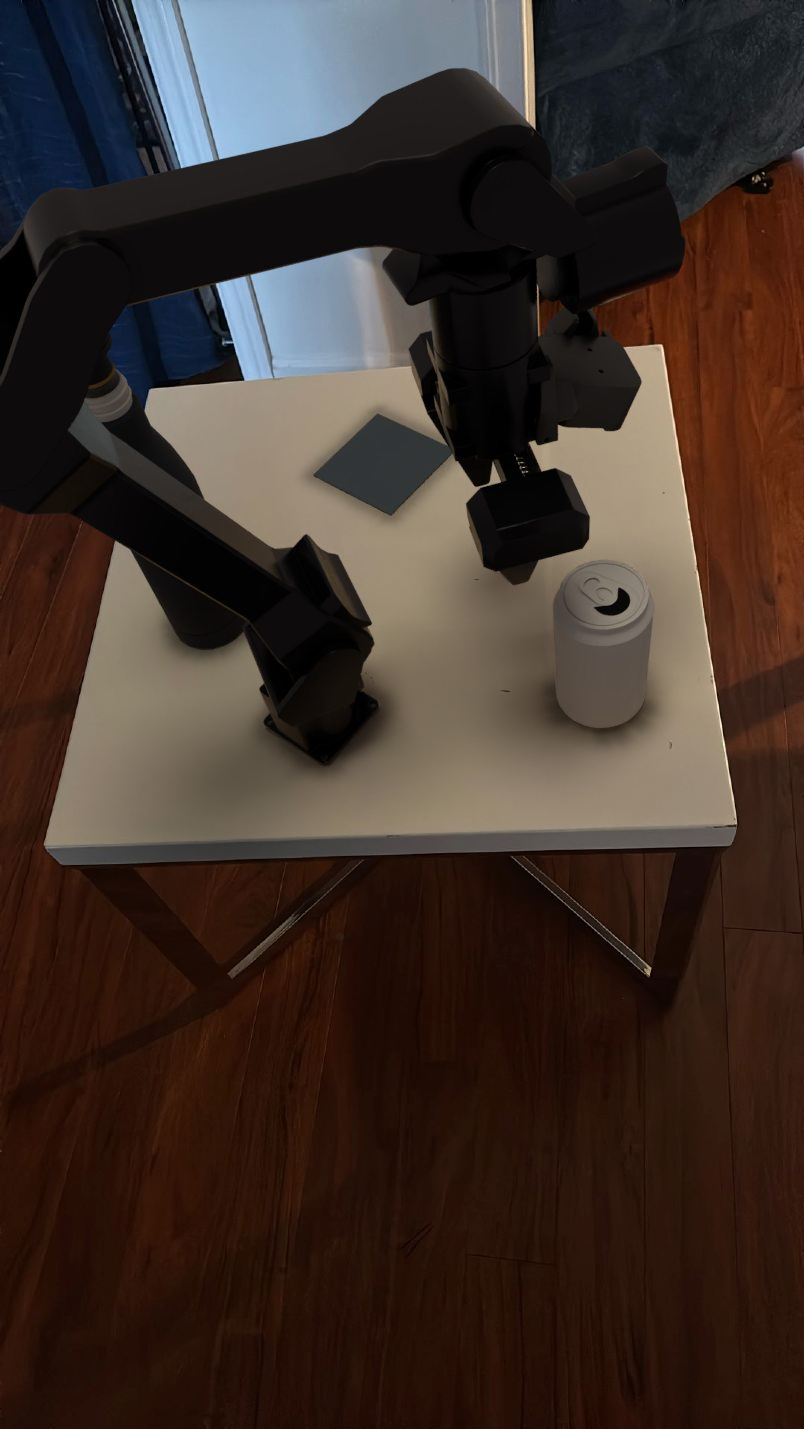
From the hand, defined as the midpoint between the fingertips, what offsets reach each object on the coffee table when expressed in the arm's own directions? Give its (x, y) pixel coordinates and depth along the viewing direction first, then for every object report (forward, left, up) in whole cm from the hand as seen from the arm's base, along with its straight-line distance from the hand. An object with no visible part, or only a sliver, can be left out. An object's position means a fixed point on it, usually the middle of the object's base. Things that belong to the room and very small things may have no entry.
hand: (500, 531), depth 69 cm
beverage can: (-1, -9, -12) cm, 15 cm away
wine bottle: (-12, +21, -12) cm, 27 cm away
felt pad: (+9, +20, -12) cm, 26 cm away
